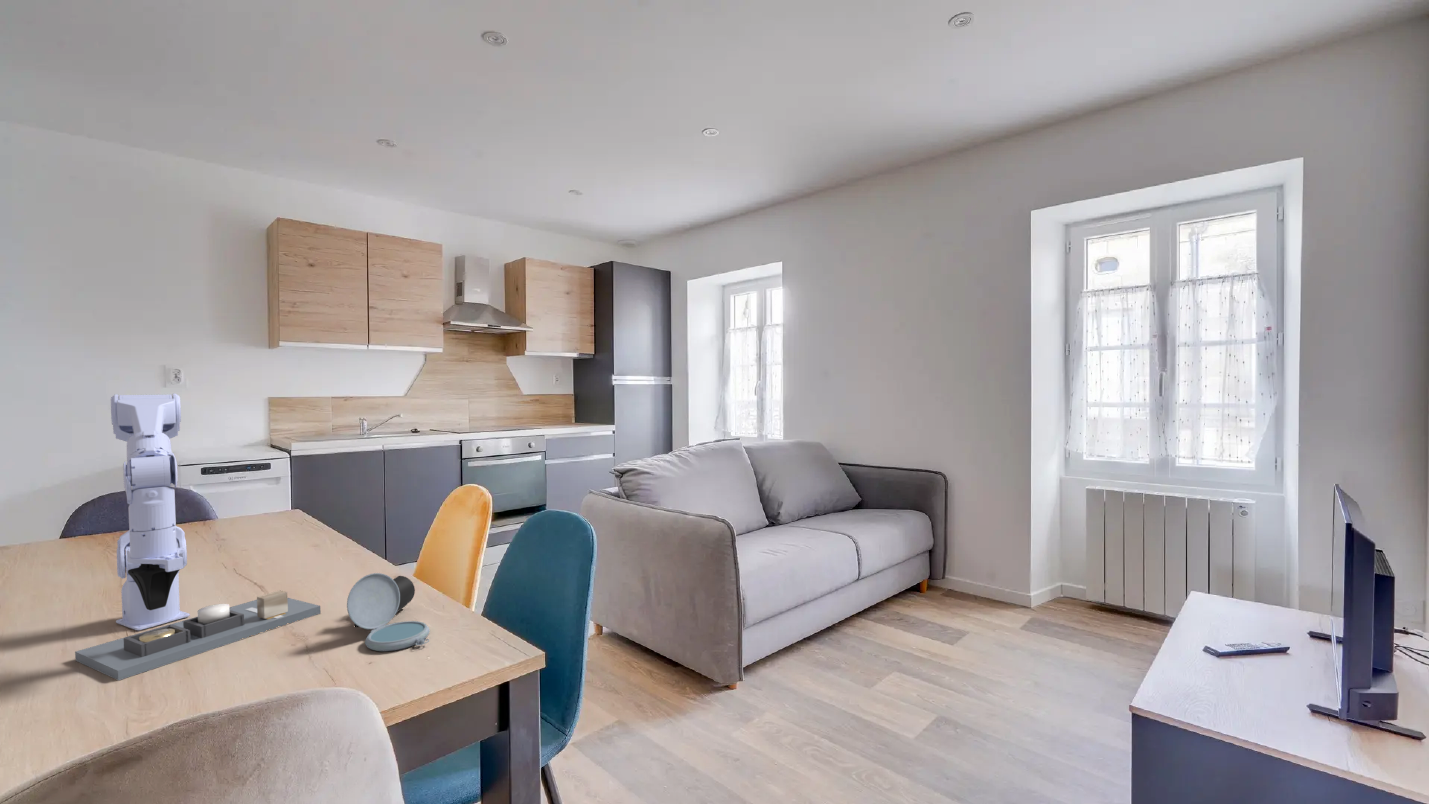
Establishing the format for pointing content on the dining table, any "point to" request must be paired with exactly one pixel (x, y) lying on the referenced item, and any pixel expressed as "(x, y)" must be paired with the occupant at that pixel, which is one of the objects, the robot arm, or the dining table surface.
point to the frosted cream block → (272, 604)
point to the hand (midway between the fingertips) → (156, 607)
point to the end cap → (403, 591)
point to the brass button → (156, 635)
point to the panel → (186, 639)
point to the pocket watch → (382, 614)
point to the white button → (213, 613)
